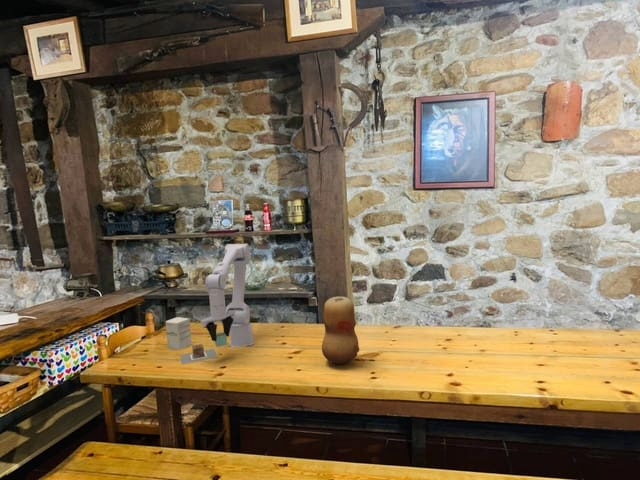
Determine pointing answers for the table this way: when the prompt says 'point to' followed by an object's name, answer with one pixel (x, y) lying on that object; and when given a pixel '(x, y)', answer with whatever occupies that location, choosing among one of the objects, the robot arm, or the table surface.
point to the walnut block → (198, 351)
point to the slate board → (189, 358)
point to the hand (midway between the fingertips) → (220, 338)
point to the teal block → (221, 339)
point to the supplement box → (178, 333)
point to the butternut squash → (339, 331)
